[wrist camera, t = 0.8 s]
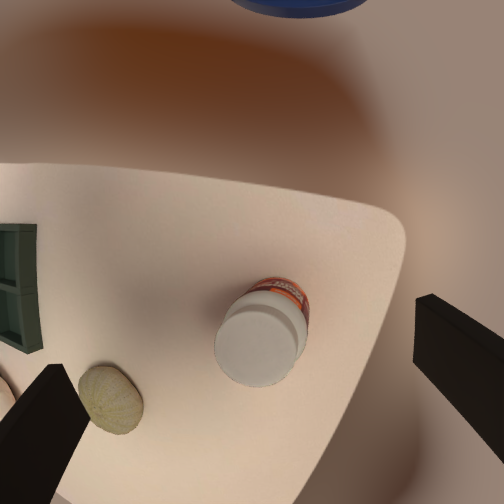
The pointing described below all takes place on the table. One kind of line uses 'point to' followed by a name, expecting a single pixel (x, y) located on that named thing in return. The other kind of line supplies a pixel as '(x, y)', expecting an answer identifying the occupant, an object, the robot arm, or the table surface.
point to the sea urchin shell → (110, 400)
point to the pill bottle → (263, 333)
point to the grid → (19, 288)
